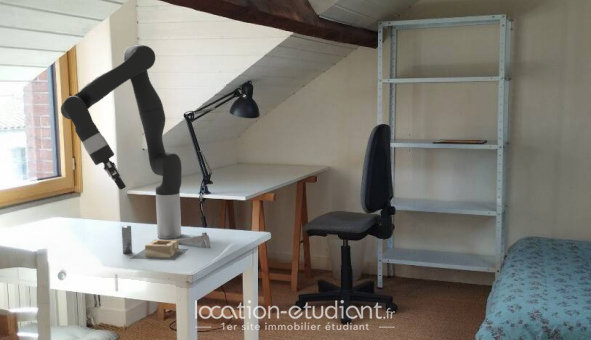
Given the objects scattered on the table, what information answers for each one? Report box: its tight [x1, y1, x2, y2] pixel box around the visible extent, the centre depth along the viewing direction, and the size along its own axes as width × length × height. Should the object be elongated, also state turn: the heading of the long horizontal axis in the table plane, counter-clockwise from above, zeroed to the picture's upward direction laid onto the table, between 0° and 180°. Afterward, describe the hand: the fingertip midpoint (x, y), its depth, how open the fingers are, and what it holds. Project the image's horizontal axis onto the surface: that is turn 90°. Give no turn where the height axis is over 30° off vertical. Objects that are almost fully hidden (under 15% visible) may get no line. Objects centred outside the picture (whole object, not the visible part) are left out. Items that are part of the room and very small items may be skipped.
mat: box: [129, 248, 189, 261], centre depth 230 cm, size 15×16×1 cm
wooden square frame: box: [144, 239, 180, 258], centre depth 229 cm, size 9×9×4 cm
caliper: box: [176, 231, 211, 249], centre depth 241 cm, size 20×1×6 cm, turn 63°
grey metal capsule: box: [121, 225, 133, 255], centre depth 230 cm, size 3×3×10 cm
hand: (122, 188), depth 231 cm, fingers open, 8 cm apart
